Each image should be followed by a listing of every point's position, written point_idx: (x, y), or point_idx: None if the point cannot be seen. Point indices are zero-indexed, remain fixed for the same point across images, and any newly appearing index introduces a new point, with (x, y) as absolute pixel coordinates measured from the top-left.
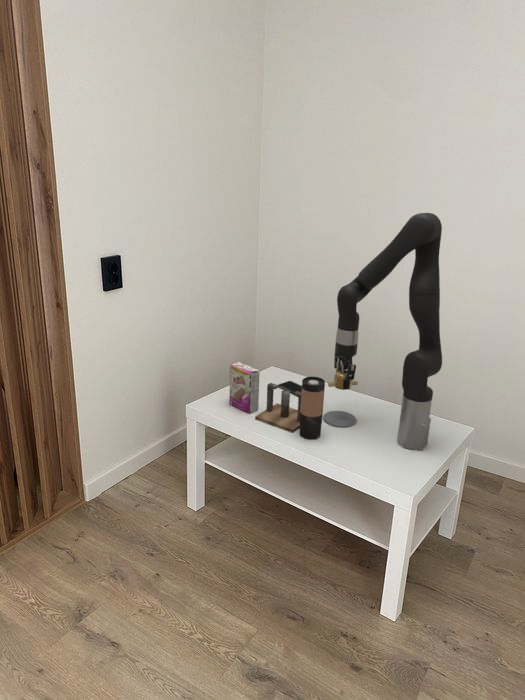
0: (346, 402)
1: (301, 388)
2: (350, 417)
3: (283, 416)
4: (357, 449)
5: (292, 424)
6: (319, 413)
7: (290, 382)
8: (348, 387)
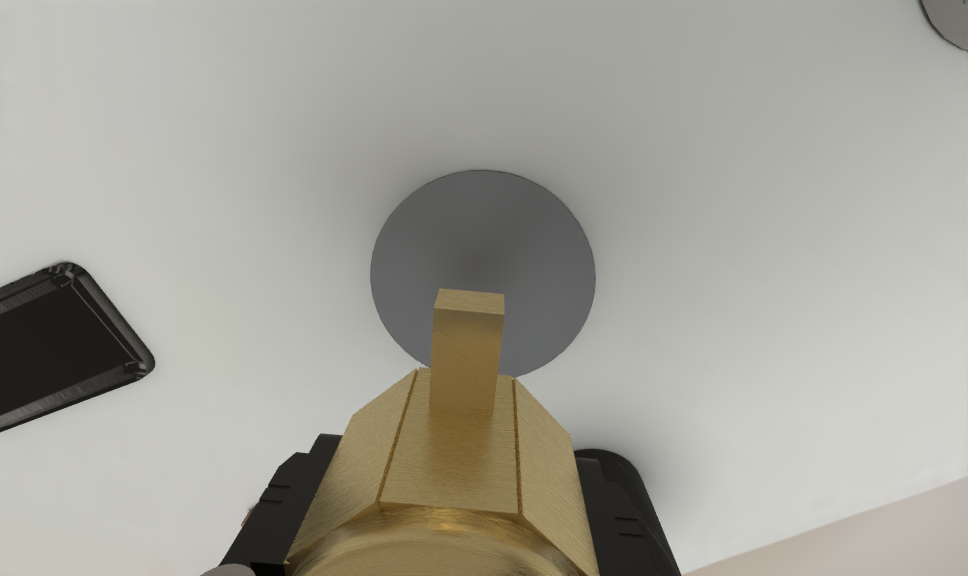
0: (223, 97)
1: (2, 325)
2: (493, 211)
3: None
4: (847, 352)
5: None
6: None
7: None
8: (629, 511)
